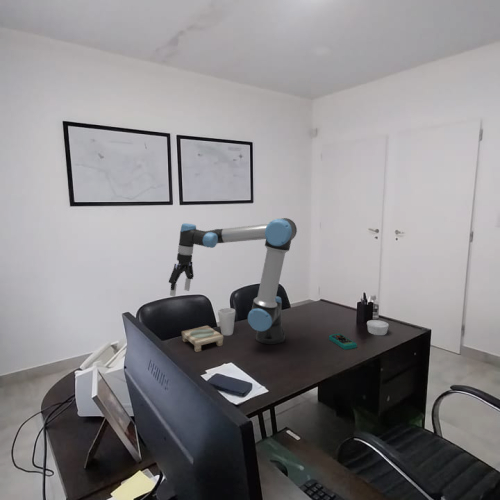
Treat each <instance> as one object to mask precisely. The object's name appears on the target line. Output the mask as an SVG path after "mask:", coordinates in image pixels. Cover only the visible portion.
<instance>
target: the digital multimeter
mask: <svg viewBox="0 0 500 500" xmlns="http://www.w3.org/2000/svg"><path fill="white" fill-rule="evenodd" d="M328 340H329V341H331V342H332V343H334V344H336V345H337V346H338V347H340V348H342V349H343V350H346V351H347V350H351V349H356V348H357V346H358V345H357V343H356V342H355V341H354V340H351V339H350V338H348V337H346V336H345V335H344V334H341V333H334V334H330V335H329V336H328Z"/></svg>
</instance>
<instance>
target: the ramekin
mask: <svg viewBox="0 0 500 500" xmlns="http://www.w3.org/2000/svg"><path fill="white" fill-rule="evenodd" d="M366 325H367V332H368V333H370V334H371V335H374V336H385V335H387V333H388V328H389V326H390V325H389V323H388V322H386V321H383V320H381V319H380V320H379V319H371V320H368V321H367V322H366Z"/></svg>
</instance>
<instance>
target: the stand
mask: <svg viewBox="0 0 500 500" xmlns="http://www.w3.org/2000/svg"><path fill="white" fill-rule="evenodd" d="M181 336H182V341H183V342H184V343H186V342H190V343H191V344H192V345H193V346H194V351H195V352H196V353H199V352H202V346H203V345H207V344H211V343H216V344H215V345H216V346H218V347H221V346H223V345H224V343H223V340H224V335H222V334H221V333H220V332H219V331H216V330H215V329H214V328H212V327H211V326H209V325H204V326H199V327H195V328H192V329H186V330H182V331H181Z"/></svg>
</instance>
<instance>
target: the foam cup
mask: <svg viewBox="0 0 500 500" xmlns="http://www.w3.org/2000/svg"><path fill="white" fill-rule="evenodd" d="M217 316H218V321H219V327H220V332H221V333H220V334H221V335H223V336H232V335H233V334H234V327H235V319H236V309H235V308H232V307H231V308H230V307H223V308H220V309H218V310H217Z"/></svg>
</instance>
